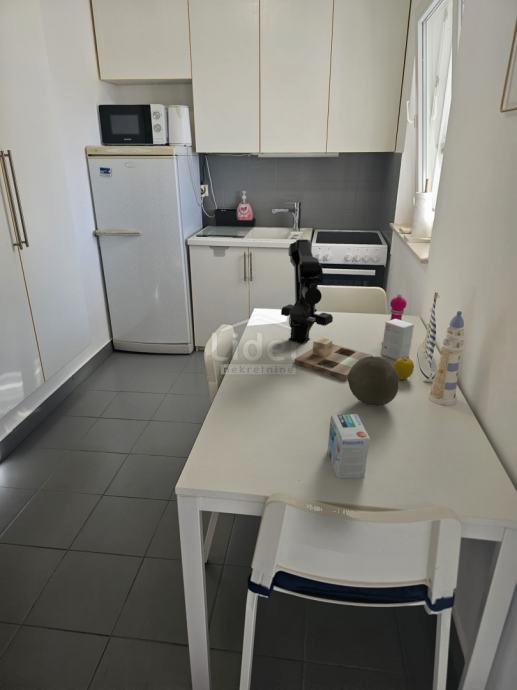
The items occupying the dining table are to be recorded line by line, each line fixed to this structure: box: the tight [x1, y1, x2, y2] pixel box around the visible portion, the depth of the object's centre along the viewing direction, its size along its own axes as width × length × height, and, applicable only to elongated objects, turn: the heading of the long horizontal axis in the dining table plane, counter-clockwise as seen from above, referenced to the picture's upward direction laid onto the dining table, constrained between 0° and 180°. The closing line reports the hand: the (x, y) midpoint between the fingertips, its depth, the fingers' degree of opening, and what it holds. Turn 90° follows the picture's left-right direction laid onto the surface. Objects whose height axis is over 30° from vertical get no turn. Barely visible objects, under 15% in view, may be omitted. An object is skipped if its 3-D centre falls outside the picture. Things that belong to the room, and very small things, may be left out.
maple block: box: [312, 336, 333, 357], centre depth 163 cm, size 5×5×5 cm
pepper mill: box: [389, 293, 407, 321], centre depth 177 cm, size 7×7×20 cm
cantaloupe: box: [347, 356, 400, 407], centre depth 131 cm, size 14×14×15 cm
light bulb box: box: [326, 413, 371, 479], centre depth 106 cm, size 11×7×11 cm, turn 5°
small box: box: [381, 319, 415, 361], centre depth 166 cm, size 8×6×13 cm
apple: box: [392, 357, 415, 380], centre depth 149 cm, size 6×6×8 cm
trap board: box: [294, 343, 374, 381], centre depth 161 cm, size 20×21×2 cm
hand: (304, 336), depth 166 cm, fingers closed
